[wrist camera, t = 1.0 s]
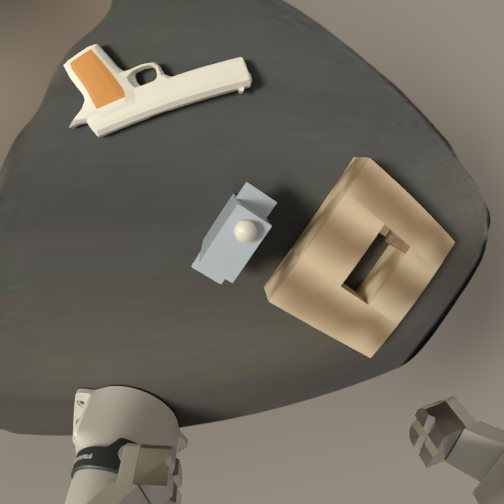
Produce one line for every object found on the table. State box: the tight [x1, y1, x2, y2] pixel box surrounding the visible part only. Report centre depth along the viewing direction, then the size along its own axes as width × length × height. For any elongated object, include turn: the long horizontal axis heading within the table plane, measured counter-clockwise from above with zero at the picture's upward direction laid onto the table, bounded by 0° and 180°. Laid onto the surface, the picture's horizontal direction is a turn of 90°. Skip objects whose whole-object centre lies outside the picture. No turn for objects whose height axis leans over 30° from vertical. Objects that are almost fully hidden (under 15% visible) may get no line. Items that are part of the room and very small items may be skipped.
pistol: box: [64, 44, 252, 137], centre depth 28 cm, size 2×20×11 cm
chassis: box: [264, 157, 455, 358], centre depth 35 cm, size 18×16×4 cm
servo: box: [191, 182, 277, 284], centre depth 30 cm, size 10×3×9 cm, turn 146°
